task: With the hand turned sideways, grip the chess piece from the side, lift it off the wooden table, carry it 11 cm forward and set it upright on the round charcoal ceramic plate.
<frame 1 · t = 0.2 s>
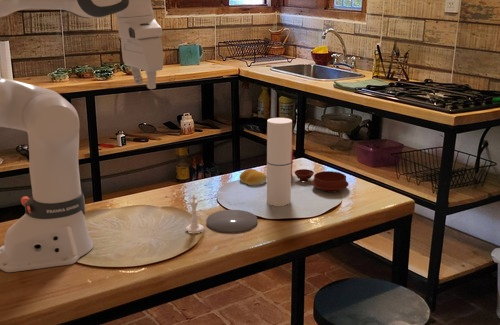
hand: (145, 86, 139), 39 cm above the table, tool pointing down, fingers open, 8 cm apart
charcoal plate: (232, 222, 155), on the table
bread roll: (253, 182, 188), on the table
pottery: (319, 186, 183), on the table
cylindrical container: (278, 202, 170), on the table
chess piece: (194, 230, 151), on the table
french fries: (283, 174, 195), on the table
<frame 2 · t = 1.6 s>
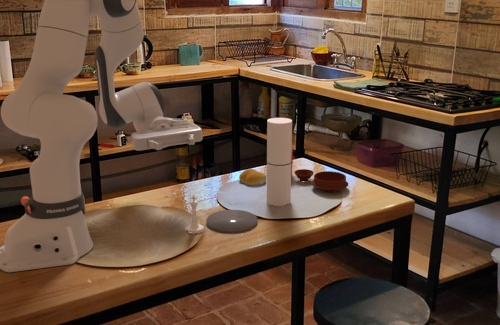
hand: (176, 144, 155), 21 cm above the table, tool horizontal, fingers open, 8 cm apart
nothing on the table moved.
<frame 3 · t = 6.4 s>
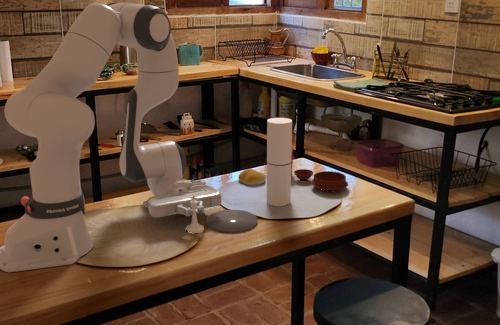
hand: (195, 211, 148), 6 cm above the table, tool horizontal, fingers closed on chess piece, 2 cm apart
chess piece: (194, 230, 151), on the table, touching gripper
everything else where it was.
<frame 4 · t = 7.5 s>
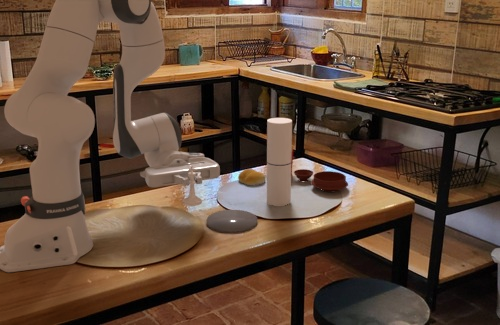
hand: (193, 182, 145), 14 cm above the table, tool horizontal, fingers closed on chess piece, 2 cm apart
chess piece: (192, 203, 148), point 8 cm above the table, touching gripper
everything else where it was.
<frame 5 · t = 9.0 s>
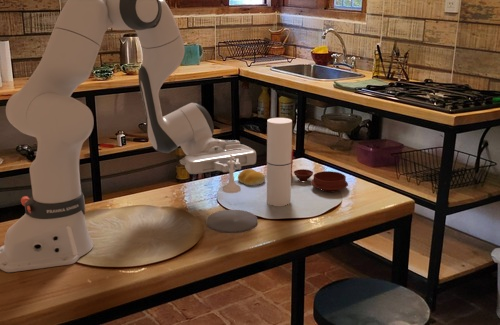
hand: (232, 168, 150), 16 cm above the table, tool horizontal, fingers closed on chess piece, 2 cm apart
chess piece: (231, 190, 153), point 9 cm above the table, touching gripper
everything else where it was.
when the fingers open (8 cm above the table, at t = 10.5 s): chess piece stays where it is, resting on charcoal plate.
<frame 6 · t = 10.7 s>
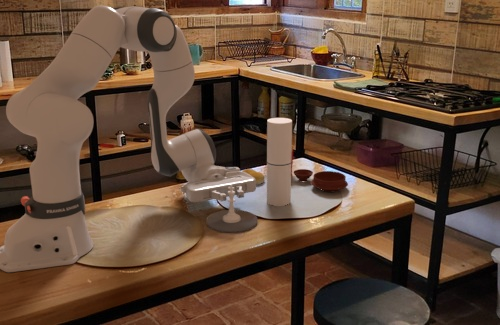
hand: (233, 196, 152), 8 cm above the table, tool horizontal, fingers open, 4 cm apart
chess piece: (231, 220, 155), point 1 cm above the table, touching charcoal plate
everything else where it was.
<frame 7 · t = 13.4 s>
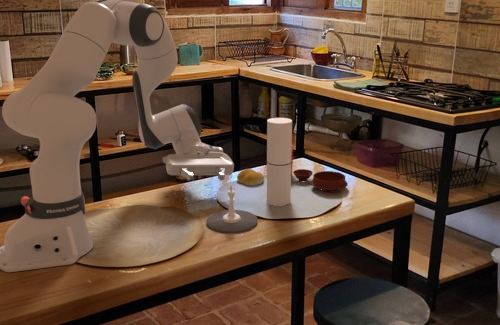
hand: (206, 178, 162), 9 cm above the table, tool horizontal, fingers open, 8 cm apart
nothing on the table moved.
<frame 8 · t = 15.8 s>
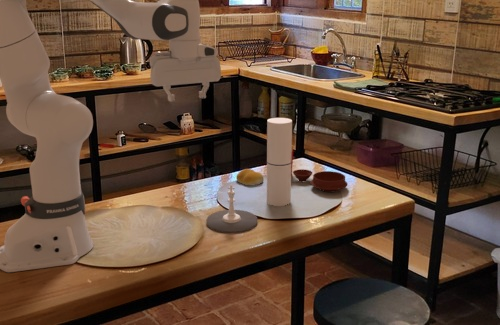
hand: (187, 99, 161), 31 cm above the table, tool pointing down, fingers open, 8 cm apart
at the end: chess piece inside the target area on the charcoal plate (0.1 cm from its centre), point 0.6 cm above the charcoal plate's base; chess piece tilted 0°; the gripper is holding nothing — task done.
